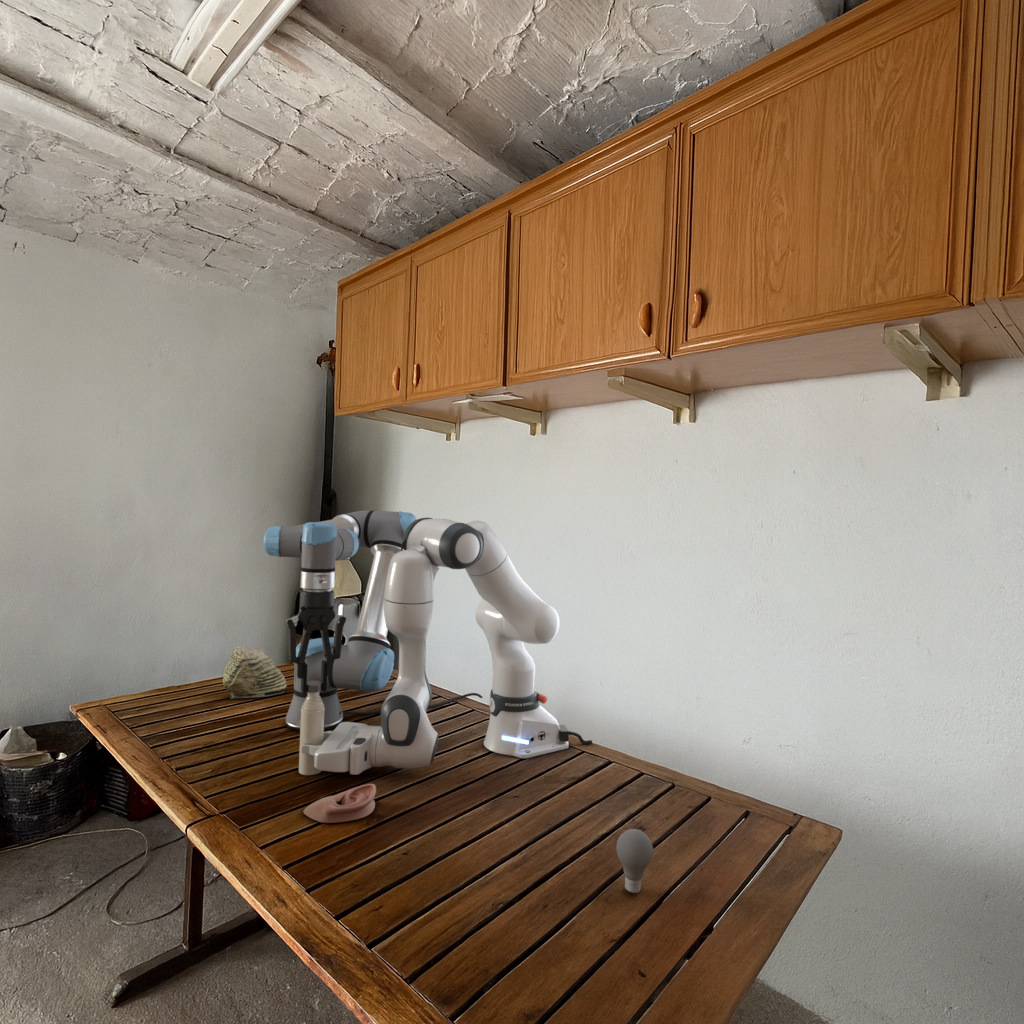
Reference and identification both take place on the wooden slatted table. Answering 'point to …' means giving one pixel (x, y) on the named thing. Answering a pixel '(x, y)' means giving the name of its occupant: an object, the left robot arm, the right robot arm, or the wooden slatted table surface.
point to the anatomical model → (343, 805)
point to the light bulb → (634, 857)
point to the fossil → (252, 674)
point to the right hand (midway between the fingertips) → (307, 742)
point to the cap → (314, 686)
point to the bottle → (311, 731)
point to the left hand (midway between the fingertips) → (313, 690)
